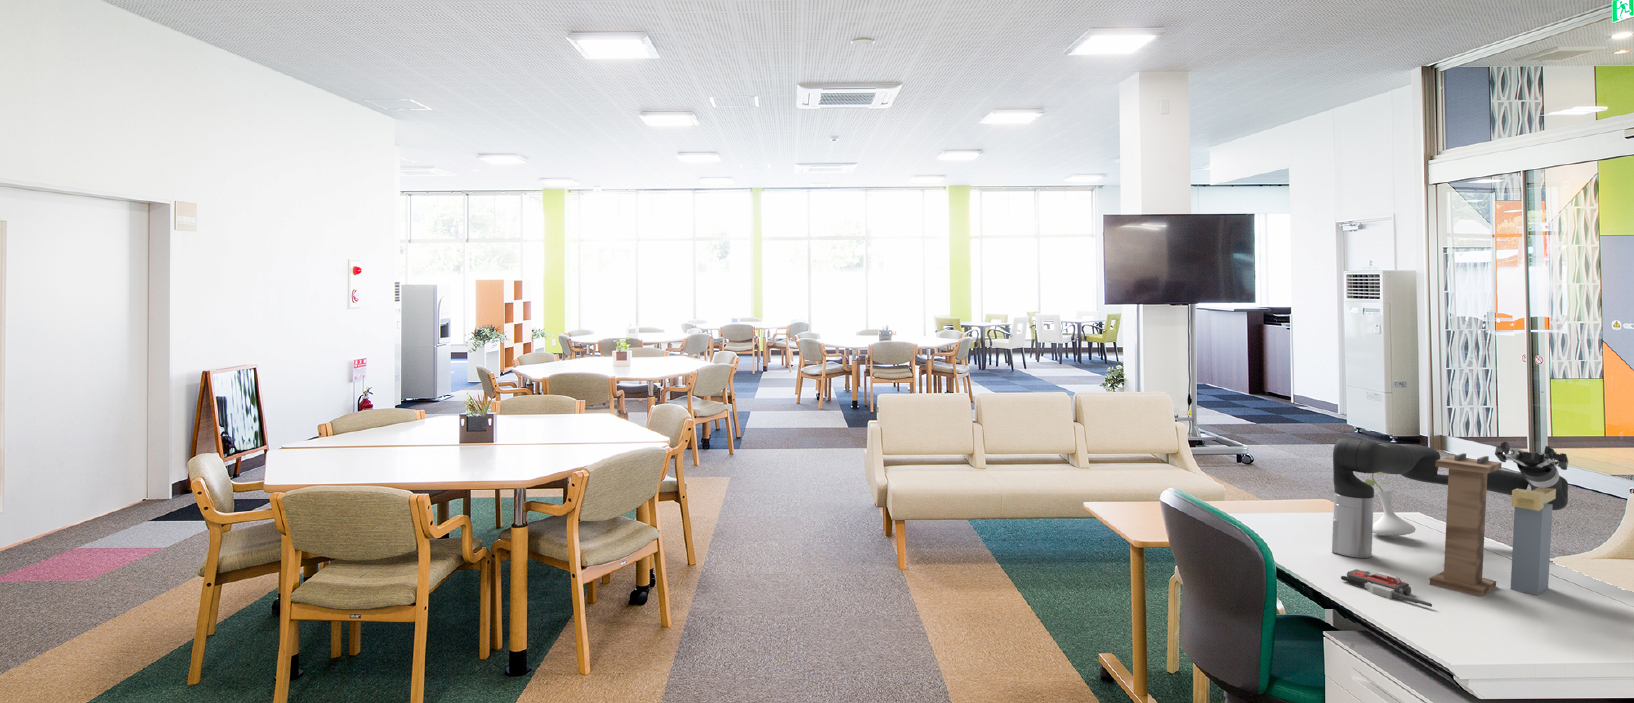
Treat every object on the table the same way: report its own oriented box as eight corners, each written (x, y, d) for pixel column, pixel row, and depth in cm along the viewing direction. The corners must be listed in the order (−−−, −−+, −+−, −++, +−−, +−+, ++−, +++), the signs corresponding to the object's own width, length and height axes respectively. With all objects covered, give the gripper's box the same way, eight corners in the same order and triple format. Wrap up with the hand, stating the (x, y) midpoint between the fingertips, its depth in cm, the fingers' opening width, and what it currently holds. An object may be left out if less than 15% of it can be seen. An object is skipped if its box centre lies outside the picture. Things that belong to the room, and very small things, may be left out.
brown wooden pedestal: (1480, 596, 178) (1486, 462, 176) (1429, 583, 186) (1435, 456, 185) (1496, 586, 185) (1502, 457, 183) (1446, 574, 193) (1451, 451, 191)
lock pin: (1538, 510, 177) (1539, 494, 176) (1511, 506, 181) (1512, 490, 181) (1560, 499, 188) (1561, 484, 187) (1534, 495, 192) (1535, 480, 192)
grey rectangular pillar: (1537, 595, 179) (1542, 509, 178) (1510, 588, 183) (1514, 504, 182) (1548, 587, 184) (1552, 504, 183) (1521, 581, 188) (1525, 500, 187)
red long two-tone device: (1335, 584, 187) (1429, 612, 170) (1336, 567, 187) (1430, 593, 169) (1353, 578, 191) (1447, 604, 174) (1354, 561, 191) (1448, 586, 174)
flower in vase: (1427, 534, 219) (1407, 452, 222) (1389, 539, 219) (1370, 456, 222) (1394, 530, 232) (1376, 452, 235) (1358, 534, 232) (1341, 456, 235)
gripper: (1507, 454, 214) (1493, 431, 206) (1576, 462, 202) (1564, 438, 194) (1502, 477, 213) (1488, 455, 205) (1571, 487, 201) (1559, 463, 193)
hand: (1525, 446), depth 199 cm, fingers open, 8 cm apart
